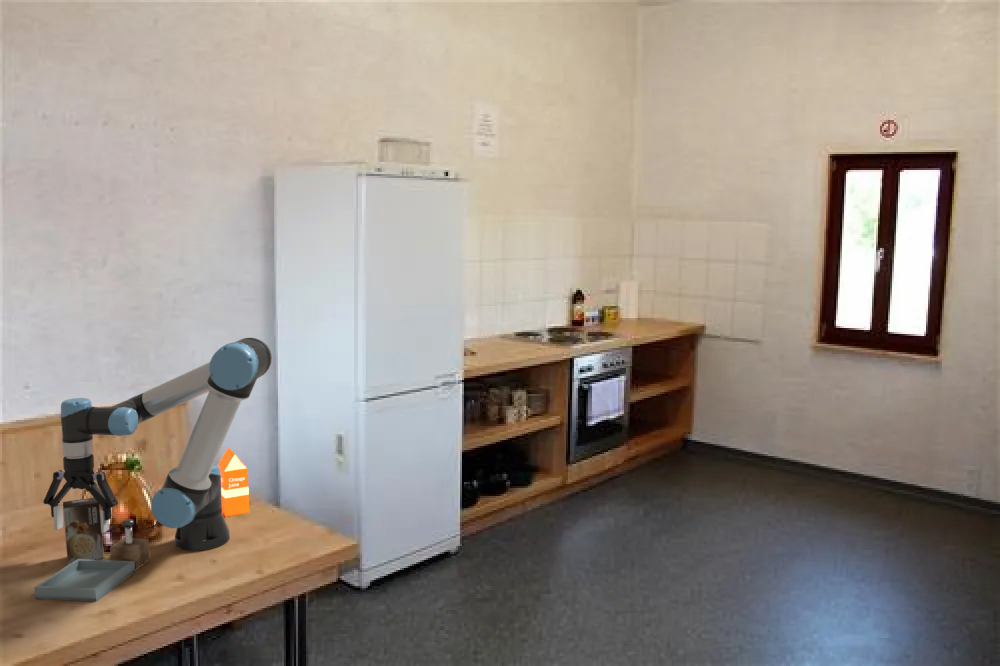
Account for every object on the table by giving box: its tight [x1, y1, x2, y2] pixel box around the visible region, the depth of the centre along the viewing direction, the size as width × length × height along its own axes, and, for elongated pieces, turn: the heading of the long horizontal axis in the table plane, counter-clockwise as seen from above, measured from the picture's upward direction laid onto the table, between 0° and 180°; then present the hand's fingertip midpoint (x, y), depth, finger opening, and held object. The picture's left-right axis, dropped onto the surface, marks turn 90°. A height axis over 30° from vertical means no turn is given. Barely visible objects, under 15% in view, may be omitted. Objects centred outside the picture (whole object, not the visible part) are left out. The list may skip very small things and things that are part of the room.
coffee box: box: [62, 497, 105, 565], centre depth 235 cm, size 9×6×16 cm
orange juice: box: [217, 447, 250, 517], centre depth 274 cm, size 8×9×20 cm
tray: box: [33, 559, 136, 602], centre depth 218 cm, size 16×18×3 cm
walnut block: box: [109, 537, 150, 570], centre depth 232 cm, size 7×7×6 cm
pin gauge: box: [122, 518, 135, 545], centre depth 231 cm, size 3×3×12 cm
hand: (82, 529), depth 235 cm, fingers open, 13 cm apart
